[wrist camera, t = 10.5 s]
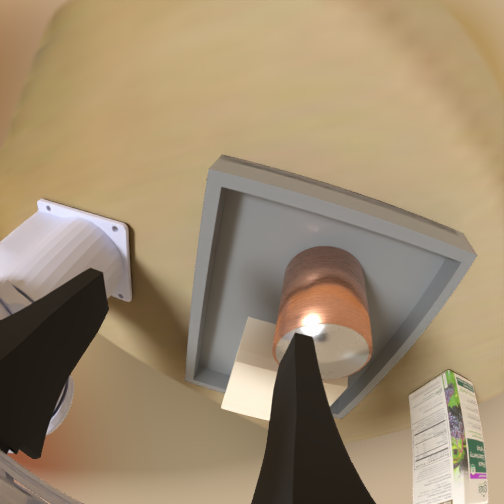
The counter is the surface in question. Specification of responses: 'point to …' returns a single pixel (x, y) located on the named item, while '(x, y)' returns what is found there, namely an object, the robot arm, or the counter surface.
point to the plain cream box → (261, 374)
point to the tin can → (326, 310)
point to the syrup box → (447, 443)
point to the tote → (297, 240)
